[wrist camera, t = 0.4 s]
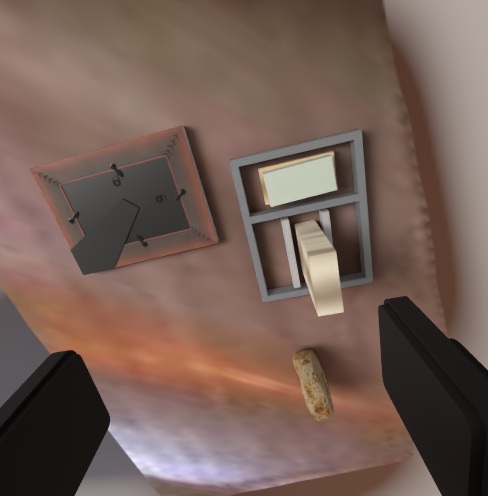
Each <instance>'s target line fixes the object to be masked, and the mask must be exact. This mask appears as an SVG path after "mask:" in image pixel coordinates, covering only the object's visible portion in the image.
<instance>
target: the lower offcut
mask: <svg viewBox="0 0 488 496" xmlns="http://www.w3.org/2000/svg"><path fill="white" fill-rule="evenodd" d="M327 154H328V155H331V156H332V160H333V167H334V173H335V180H336V186H337V189H338V185H337V177H336V168H335V159H334V152H333V151H328V152H324V153H320V154H315V155H311V156H307V157H302V158H298V159H294V160H289V161H285V162H281V163H277V164H272V165H268V166H264V167H259V168H258V170H259V175H260V180H261V185H262V189H263V194H264V199H265V204H266V205H268V204H270V202H269V198H268V194H267V190H266V186H265V181H264V177H263V173H262V172H265V171H269V170H272V169H276V168H280V167H283V166H287V165H291V164H294V163H298V162H302V161H305V160H309V159H313V158H316V157H320V156H324V155H327Z"/></svg>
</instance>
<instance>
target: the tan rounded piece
mask: <svg viewBox="0 0 488 496" xmlns="http://www.w3.org/2000/svg"><path fill="white" fill-rule="evenodd" d="M293 364H294V367H295V369H296V371H297V373H298V375H299V378H300V381H301V389H302V392H303V395H304V398H305V402H306V404H307V407H308V409H309V411H310V412H311V414H312V415H313V417H314V418H315V419H316V420H318V421H323V420H327V419H329V418H331V417H332V416H333V414H334V410H333V404H332V399H331V395H330V391H329V387H328V384H327V381H326V377H325V375H324V372H323V370H322V367H321V365H320V363H319V360H318V359H317V357H316V355H315V353H314V352H313V351H312V350H310V349H309V350H303V351H299V352H296V353H295V354H294V355H293Z"/></svg>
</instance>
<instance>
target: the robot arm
mask: <svg viewBox="0 0 488 496" xmlns="http://www.w3.org/2000/svg"><path fill="white" fill-rule="evenodd" d="M378 314H379V330H380V346H381V361H382V377H383V382H384V386H385V388H386V391H387V393H388V395H389V396H390V398H391V400H392V402H393V404H394V406H395V408H396V410H397V412H398V413H399V415H400V417H401V419H402V421H403V423H404V425H405V427H406V429H407V430H408V432H409V434H410V436H411V438H412V440H413V442H414V444H415V445H416V447H417V449H418V451H419V453H420V455H421V457H422V459H423V461H424V463H425V464H426V466H427V468H428V470H429V472H430V474H431V475H432V478H433V479H434V481H435V483H436V485H437V487H438V489H439V491H440V493H441V495H442V496H488V370H487V369H486V368H485V367H484V366H483V365H482V364H481V363H480V362H479V361H478V360H477V359H476V358H475V357H474V356H473V355H472V354H471V353H470V352H469V351H468V350H467V349H466V348H465V347H464V346H463V345H462V344H461V343H459V342H458V341H457V340H455V339H452V338H450V339H448V338H447V337H446V336H445V335H444V334H443V333H442V332H441V331H440V329H439V328H438V327H437V326H436V325H435V324H434V323H433V322H432V321H431V320H430V319H429V318H428V317H427V316H426V315H425V314H424V313H423V312H422V311H421V310H420V309H419V308H418V307H417V306H416V305H415V304H414V303H413V302H412V301H411V300H410V299H409V298H408V297H407V296H403V297H397V298H391V299H385V300H384V305H380V306H379V307H378ZM109 424H110V416H109V413H108V411H107V409H106V407H105V405H104V403H103V400H102V398H101V396H100V394H99V392H98V390H97V388H96V386H95V384H94V382H93V380H92V378H91V376H90V374H89V372H88V369H87V367H86V365H85V363H84V361H83V359H82V357H81V356H80V355H79V354H77V353H76V352H75V351H73V350H68V351H62V352H56V353H52V354H51V355H50V356H49V357H48V358H47V359H46V360H45V361H44V362H43V363H42V364H41V365H40V366H39V367H38V368H37V369H36V370H35V372H34V373H33V374H32V375H31V376H30V377H29V378H28V379H27V380H26V381H25V382H24V383H23V384H22V385H21V386H20V388H19V389H18V390H17V391H16V392H15V393H14V394H13V395H12V396H11V397H10V398H9V399H8V400H7V401H6V402H5V403H4V405H3V406H2V407H1V408H0V496H74V495H75V494H76V492H77V490H78V487H79V486H80V483H81V482H82V480H83V477H84V476H85V473H86V472H87V470H88V468H89V465H90V464H91V462H92V460H93V458H94V456H95V453H96V452H97V450H98V448H99V446H100V444H101V442H102V440H103V438H104V436H105V434H106V432H107V430H108V427H109Z"/></svg>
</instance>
